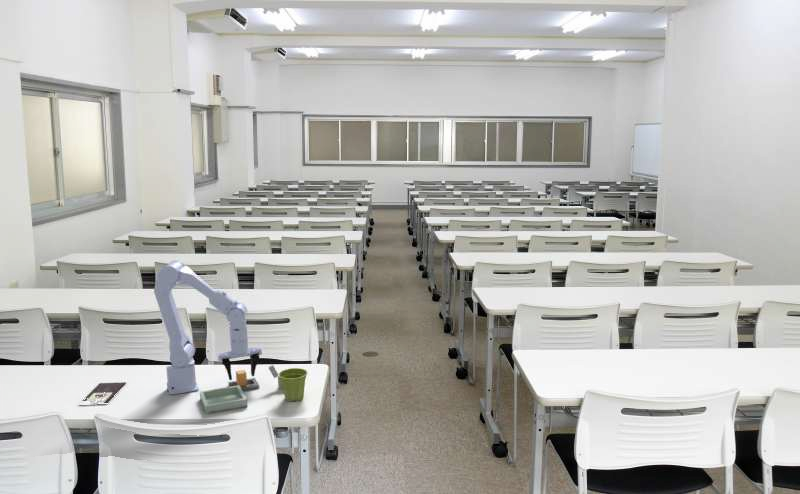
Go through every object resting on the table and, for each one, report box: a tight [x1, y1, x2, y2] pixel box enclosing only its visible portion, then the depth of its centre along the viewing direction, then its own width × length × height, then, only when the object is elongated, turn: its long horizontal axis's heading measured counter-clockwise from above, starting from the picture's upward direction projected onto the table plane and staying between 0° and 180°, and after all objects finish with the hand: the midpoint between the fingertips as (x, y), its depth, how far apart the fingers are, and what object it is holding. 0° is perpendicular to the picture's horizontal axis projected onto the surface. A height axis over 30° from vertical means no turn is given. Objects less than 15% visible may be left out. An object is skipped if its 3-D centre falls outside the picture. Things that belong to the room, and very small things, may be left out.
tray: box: [199, 385, 248, 415], centre depth 224 cm, size 13×13×3 cm
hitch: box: [227, 377, 260, 392], centre depth 237 cm, size 9×7×1 cm
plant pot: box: [278, 367, 308, 402], centre depth 226 cm, size 9×9×9 cm
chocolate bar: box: [81, 381, 127, 404], centre depth 233 cm, size 9×1×18 cm
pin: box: [235, 369, 248, 386], centre depth 237 cm, size 3×3×6 cm
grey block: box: [268, 364, 283, 389], centre depth 236 cm, size 7×2×8 cm, turn 93°
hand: (241, 377), depth 236 cm, fingers open, 7 cm apart
